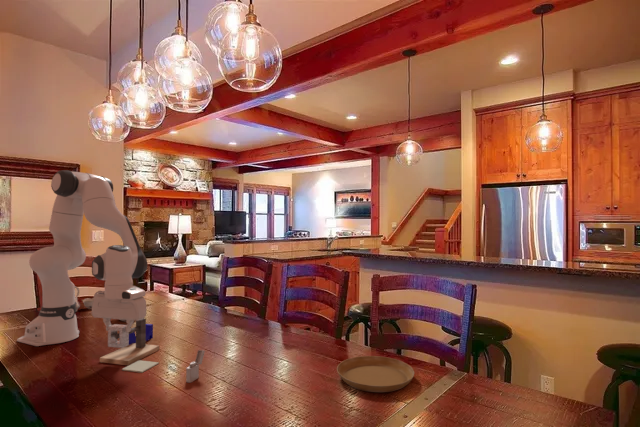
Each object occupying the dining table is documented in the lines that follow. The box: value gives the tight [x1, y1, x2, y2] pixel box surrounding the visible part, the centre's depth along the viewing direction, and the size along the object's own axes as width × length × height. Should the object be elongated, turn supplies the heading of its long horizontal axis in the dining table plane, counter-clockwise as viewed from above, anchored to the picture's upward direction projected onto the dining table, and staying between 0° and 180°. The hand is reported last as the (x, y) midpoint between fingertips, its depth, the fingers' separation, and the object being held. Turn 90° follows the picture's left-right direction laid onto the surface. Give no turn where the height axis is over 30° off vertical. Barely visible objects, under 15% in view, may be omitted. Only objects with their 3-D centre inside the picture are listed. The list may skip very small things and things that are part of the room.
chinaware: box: [75, 286, 94, 313], centre depth 201 cm, size 28×17×17 cm, turn 178°
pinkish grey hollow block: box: [107, 323, 129, 349], centre depth 131 cm, size 6×3×7 cm, turn 76°
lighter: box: [185, 349, 206, 383], centre depth 118 cm, size 7×2×8 cm, turn 162°
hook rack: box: [99, 318, 161, 366], centre depth 137 cm, size 12×16×12 cm
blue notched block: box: [129, 323, 154, 345], centre depth 152 cm, size 12×4×6 cm, turn 166°
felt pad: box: [121, 359, 159, 374], centre depth 126 cm, size 8×8×1 cm
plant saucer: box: [336, 355, 415, 393], centre depth 117 cm, size 24×24×3 cm
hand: (118, 331), depth 131 cm, fingers closed on pinkish grey hollow block, 6 cm apart
